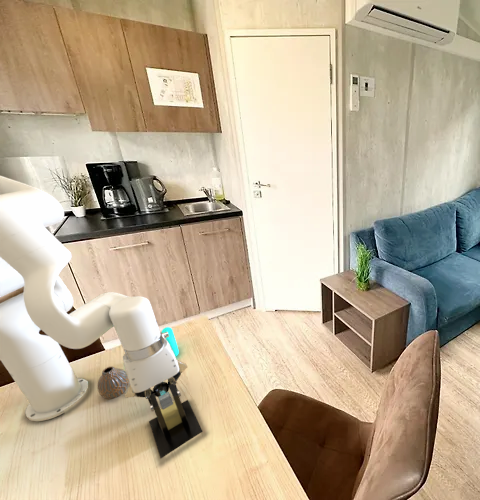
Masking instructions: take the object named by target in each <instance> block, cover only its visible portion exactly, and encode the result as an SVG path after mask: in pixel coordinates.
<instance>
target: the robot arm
mask: <svg viewBox="0 0 480 500" xmlns="http://www.w3.org/2000/svg"><path fill="white" fill-rule="evenodd" d="M64 217H65V210H64V208H63V205H61V203H60V202H59V200H58V199H57V198H55V197H54V196H53V195H51V194H49V192H46V191H45V190H43V189H41V188H38V187H35V186H34V185H30V184H27V183H24V182H21V181H19V180H15V179H12V178H8V177H6V176H3V175H0V298H2V297H4V296H7V295H8V294H10V293H13V292H15V291H17V290H20V289H22V288H23V292H21V293H19V294H17V295H15V296H12V297H10V298H8V299H6V300H4V301H1V302H0V361H1V363H2V365H3V366H4V367H5V369H6V370H7V371H8V373H9V375H10V376H11V378H12V380H13V381H14V382H15V384H16V385H17V387H18V389H19V390H20V391H21V393H22V394H23V396H24V398H25V399H26V401H27V402H28V405H27V407H26V408H25V410H24V411H25V412H24V413H25V416H26V418H27V419H28V420H29V421H31V422H43V421H48V420H52V419H54V418H56V417H59V416H61V415H63V414H65V410H67V408H70V407H71V406H72V405H75V403H77V402H78V401H79V400H80V399H81V398H82V397H83V396H84V395H85V394H86V392H87V390H88V389H89V381H88V380H87V379H85V378H82V377H81V378H78V376H77V375H76V373H75V371H74V369H73V368H72V366H71V364H70V362H69V360H68V358H67V356H66V355H65V353H64V351H63V349H62V347H61V346H63V347H64V348H68V349H73V350H80V349H84V348H86V347H88V346H90V345H92V344H93V343H95V342H96V341H97V340H98V339H100V338H101V337H102V336H104V334H106V333H107V332H109V331H110V330H111V329H113V328H114V330H115V333H116V334H117V337H118V339H119V342H120V344H121V347H122V349H123V352H124V354H123V356H122V361H123V362H122V363H123V366H124V371H126V374H127V377H128V379H129V383H128V386H127V388H126V391H125V393H123V394H124V397H125V398H126V399H129V398H135V397H136V398H145V399H146V400H148V401H147V402H148V403H149V406H150V405H152V403H151V400H150V397H149V396H150V395H151V394H153V389H151V388H154V386H155V385H157V384H159V383H161V382H166V381H167V383H168V384H169V385H171V384H174V386H175V388H176V391H178V390H179V389H178V387H177V381H178V380H179V379H180V377H181V376H182V373H184V371H185V370H186V369H187V368H188V366H187V364H186V363H185V362H183V361H182V360H179V359H177V358H176V357H177V356H176V357H175V355H174V353H173V350H172V348H171V346H170V344H169V343H168V341H167V340H166V338H167V337H169V334H168V332H165V333H162V332H161V331H160V326H159V323H158V322H157V319H156V316H155V313H154V309H153V307H152V304H151V301H150V300H149V299H148V298H147V297H145V296H139V295H136V296H135V295H133V296H128V295H126V294H122V293H119V292H115V291H107V292H103V293H101V294H99V295H97V296H95V297H94V298H93V299H90V300H89V301H88V302H86V303H84V304H83V305H80V306H79V307H78V308H76V309H74V311H71V310H72V308H73V307H74V303H75V301H74V300H75V299H74V297H73V294H72V292H71V291H70V290H69V288H68V287H67V285H66V284H65V281H63V279H62V278H61V276H60V273H61V272H62V271H63V269H64V268H65V267H66V266H68V264H69V263H70V262H71V261H72V257H73V254H72V252H71V251H70V250H69V249H68V248H67V247H66V246H65V245H64V244H63V243H62V242H61V241H60V240H59V239H58V238H57V237H56V236H55V235H53V233H52V232H51V231H50V230H48V227H51V226H54V225H57V224H59V223H61V222H62V221H63V220H64ZM69 311H71V312H70V313H68V312H69ZM40 331H42V332H44V334H40Z"/></svg>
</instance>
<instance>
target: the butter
mask: <svg viewBox="0 0 480 500" xmlns="http://www.w3.org/2000/svg"><path fill="white" fill-rule="evenodd" d="M160 409H161V412H162V414H163V417H164V420H165V423H166V425H167V428H168V430H170V429H171V428H173V427H175V426H176V425H178V424H180V423H181V422H182V421H181V418H180V415H179V413H178V410H177V408H176V405H175V402H174V401H173V405H171V406H169V407H167V408H165V409H164V410H163V409H162V407H160Z"/></svg>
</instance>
